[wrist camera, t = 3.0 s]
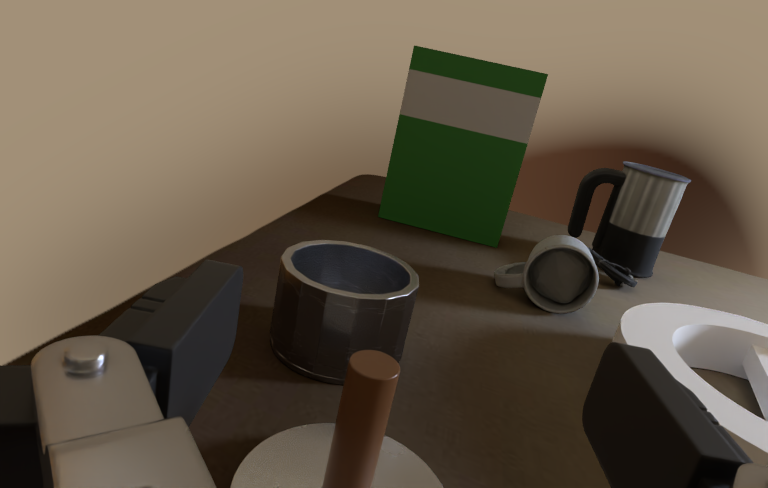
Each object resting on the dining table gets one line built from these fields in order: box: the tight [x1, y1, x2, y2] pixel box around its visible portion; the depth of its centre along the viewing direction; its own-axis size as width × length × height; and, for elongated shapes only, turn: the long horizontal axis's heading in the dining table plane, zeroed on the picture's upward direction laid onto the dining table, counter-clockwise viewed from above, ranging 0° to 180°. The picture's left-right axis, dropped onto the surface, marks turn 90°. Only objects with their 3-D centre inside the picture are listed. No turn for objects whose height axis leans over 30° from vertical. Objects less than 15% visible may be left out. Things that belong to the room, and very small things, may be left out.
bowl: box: [270, 240, 419, 385], centre depth 42 cm, size 10×10×7 cm
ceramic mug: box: [494, 235, 599, 314], centre depth 61 cm, size 11×8×8 cm
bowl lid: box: [230, 350, 443, 488], centre depth 26 cm, size 11×11×9 cm
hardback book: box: [378, 46, 548, 248], centre depth 77 cm, size 18×7×24 cm, turn 78°
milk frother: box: [568, 162, 691, 287], centre depth 75 cm, size 14×16×15 cm
